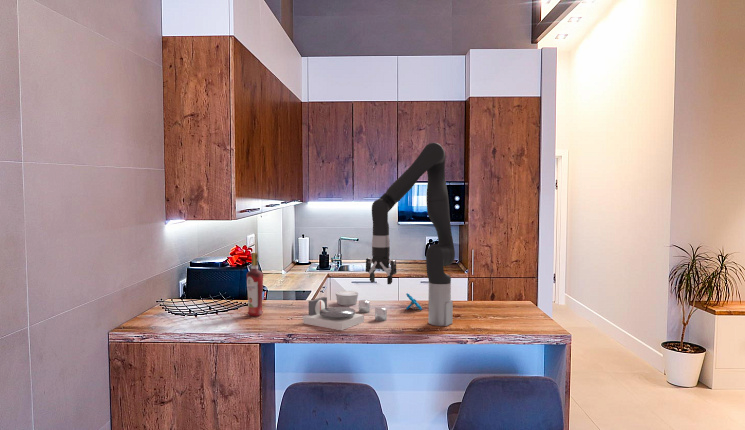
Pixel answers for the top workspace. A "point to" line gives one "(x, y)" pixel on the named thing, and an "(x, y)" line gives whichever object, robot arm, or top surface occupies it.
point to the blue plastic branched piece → (413, 302)
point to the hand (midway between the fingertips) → (380, 283)
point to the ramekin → (346, 297)
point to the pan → (337, 312)
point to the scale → (328, 322)
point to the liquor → (254, 288)
